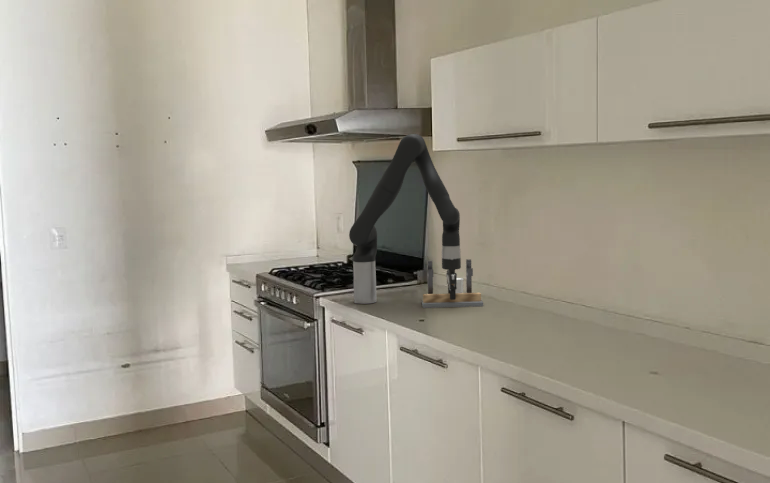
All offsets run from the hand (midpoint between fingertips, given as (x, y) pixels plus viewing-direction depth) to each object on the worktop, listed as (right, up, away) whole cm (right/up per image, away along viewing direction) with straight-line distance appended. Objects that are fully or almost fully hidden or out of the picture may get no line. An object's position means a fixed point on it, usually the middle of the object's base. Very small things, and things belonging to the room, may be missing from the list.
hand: (451, 297), depth 305 cm
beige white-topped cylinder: (+4, -1, +24) cm, 25 cm away
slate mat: (0, -3, 0) cm, 3 cm away
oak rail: (0, -2, 0) cm, 1 cm away
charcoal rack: (0, -2, +8) cm, 9 cm away
